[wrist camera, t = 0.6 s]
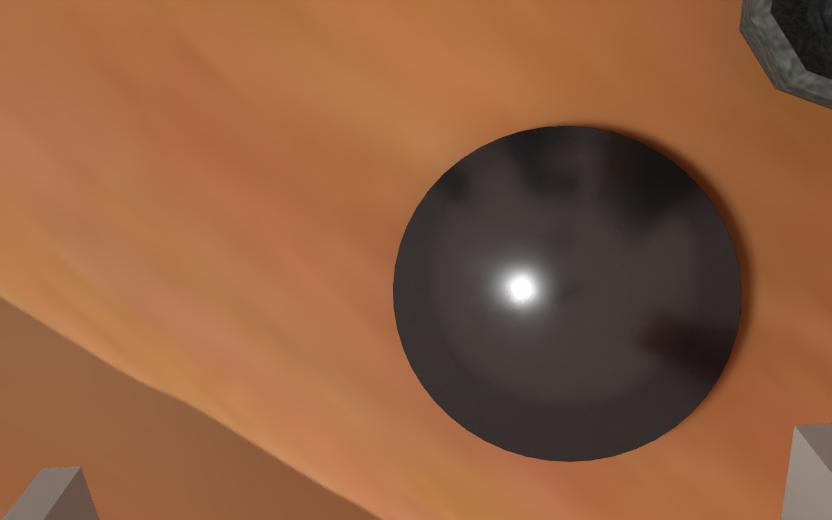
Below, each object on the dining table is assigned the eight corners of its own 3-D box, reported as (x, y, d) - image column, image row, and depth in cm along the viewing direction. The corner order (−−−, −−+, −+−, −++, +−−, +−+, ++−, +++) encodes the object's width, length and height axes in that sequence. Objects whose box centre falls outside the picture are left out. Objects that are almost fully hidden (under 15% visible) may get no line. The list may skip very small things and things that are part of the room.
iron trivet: (427, 104, 36) (421, 101, 35) (771, 157, 33) (780, 157, 32) (377, 409, 39) (370, 418, 38) (690, 484, 36) (695, 498, 35)
